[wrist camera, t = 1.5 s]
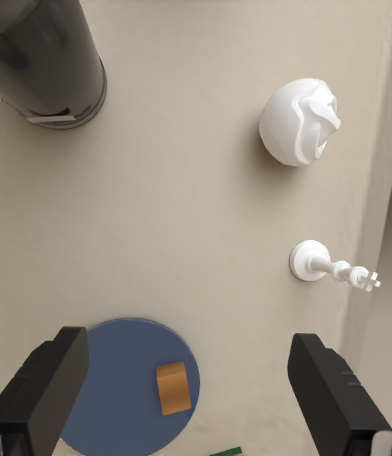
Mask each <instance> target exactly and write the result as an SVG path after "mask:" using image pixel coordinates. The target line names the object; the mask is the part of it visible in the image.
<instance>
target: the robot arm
mask: <svg viewBox="0 0 392 456" xmlns="http://www.w3.org/2000/svg"><path fill="white" fill-rule="evenodd" d="M106 88H107V81H106V74H105V70H104V67H103V64H102V62H101V59H100V57H99V55H98V53H97V50H96V47H95V44H94V41H93V38H92V36H91V33H90V30H89V27H88V24H87V22H86V19H85V16H84V13H83V10H82V7H81V5H80V2H79V0H0V98H1V99H3V100H4V101H5V102H7V103H8V104H10V105H11V106H12V107H14V108H15V109H16V110H17V111H18V112H19V113H21V114H22V115H23V116H25V117H26V118H25V119H27V120H28V121H29V122H31V123H32V122H34V123H36V124H38V125H40V126H43V127H47V128H51V129H70V128H74V127H77V126H80V125H82V124H84V123H86V122H87V121H89V120H90V119H91V118H92V117H94V115H95V114H96V113H97V112H98V111H99V109H100V107H101V106H102V104H103V101H104V98H105V95H106ZM88 368H89V351H88V341H87V332H86V328H85V327H69V326H64V327H63V328H62V329H61V330H60V331H59V333H58V334H57V336H56V337H55V339H54V340H53V341H45V342H44V343H42V344H41V345H40V346H39V347H37V348H36V349H35V350H33V351H32V352H31V354H30V355H29V356H28V358H27V359H26V360H25V362H24V363H23V366H22V367H20V369H19V370H18V371H17V373H16V374H15V377H14V378H12V379H11V381H10V382H9V383H8V385H7V386H6V387H5V389H4V390H3V391H2V393H1V394H0V456H51V455H52V453H53V451H54V449H55V446H56V444H57V442H58V439H59V437H60V435H61V433H62V430H63V428H64V426H65V423H66V421H67V419H68V417H69V414H70V412H71V410H72V408H73V405H74V403H75V401H76V398H77V396H78V394H79V392H80V389H81V387H82V385H83V383H84V380H85V378H86V375H87V372H88ZM287 369H288V377H289V381H290V384H291V386H292V389H293V391H294V393H295V396H296V398H297V401H298V403H299V406H300V408H301V411H302V413H303V416H304V418H305V421H306V423H307V426H308V428H309V431H310V433H311V435H312V438H313V440H314V443H315V445H316V448H317V450H318V453H319V455H320V456H392V428H391V426H390V425H389V424H388V422H387V421H386V419H385V418H384V416H383V415H382V413H381V412H380V411H379V409H378V408H377V406H376V405H375V403H374V402H373V400H372V399H371V398H370V396H369V395H368V393H367V392H366V390H365V389H364V387H363V386H361V383H360V382H359V380H358V379H357V377H356V376H355V375H353V372H352V370H351V369H350V367H349V366H348V364H347V363H346V361H345V360H344V359H343V358H342V357H341V356H339V355H338V354H337V353H336V352H335V351H334V350H332V349H330V348H325V346H324V345H323V343H322V342H321V340H320V339H319V337H318V336H317V335H316V334H307V333H295V334H294V336H293V340H292V345H291V350H290V355H289V359H288V366H287Z"/></svg>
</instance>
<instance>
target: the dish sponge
mask: <svg viewBox="0 0 392 456" xmlns="http://www.w3.org/2000/svg"><path fill="white" fill-rule="evenodd" d="M210 456H243V454H242V451H241V448H240V447H238V448H235V449H231V450H228V451H224V452H221V453H217V454H214V455H210Z"/></svg>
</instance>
